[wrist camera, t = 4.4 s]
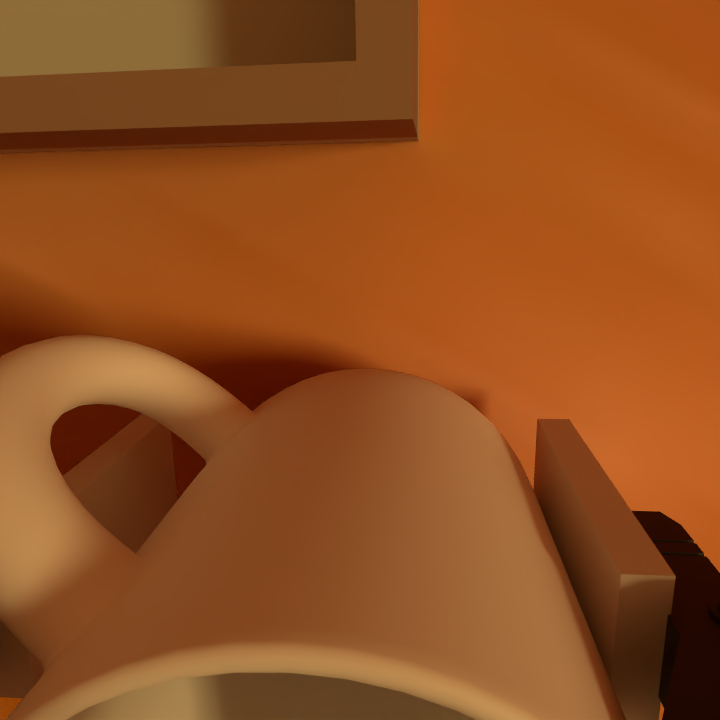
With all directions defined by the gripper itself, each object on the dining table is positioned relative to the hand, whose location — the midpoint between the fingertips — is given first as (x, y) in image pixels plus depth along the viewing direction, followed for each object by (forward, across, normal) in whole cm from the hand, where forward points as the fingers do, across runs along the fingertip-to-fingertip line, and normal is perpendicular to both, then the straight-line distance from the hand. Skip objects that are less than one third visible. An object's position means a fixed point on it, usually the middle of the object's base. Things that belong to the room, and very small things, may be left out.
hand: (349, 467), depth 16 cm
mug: (0, -1, 0) cm, 1 cm away
